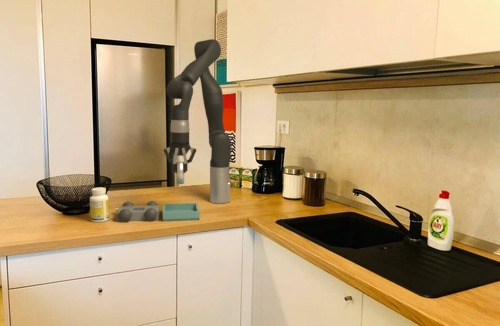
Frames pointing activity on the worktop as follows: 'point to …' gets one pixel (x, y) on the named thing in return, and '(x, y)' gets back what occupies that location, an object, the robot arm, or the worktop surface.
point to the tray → (180, 212)
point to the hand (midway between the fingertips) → (180, 172)
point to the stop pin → (180, 172)
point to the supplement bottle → (99, 205)
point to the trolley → (137, 212)
